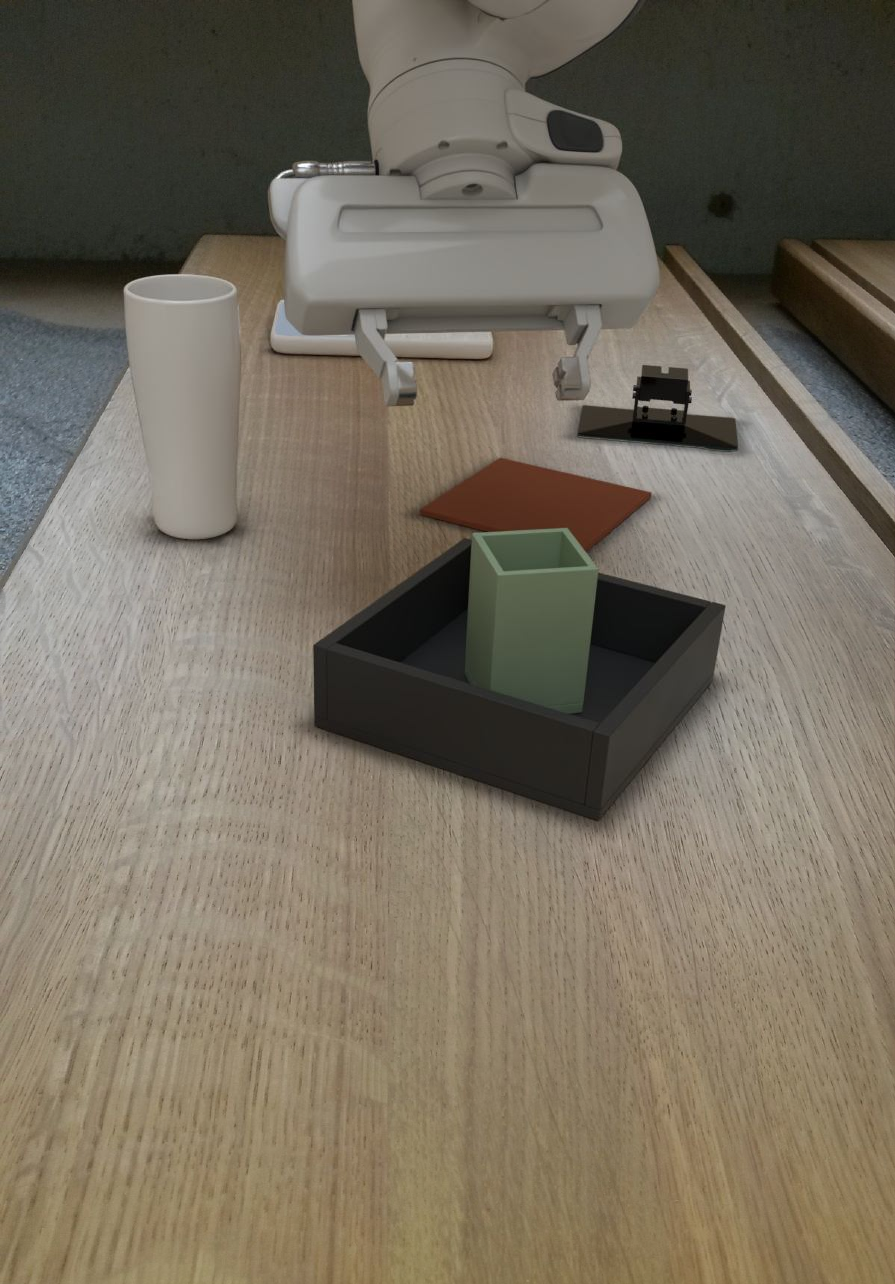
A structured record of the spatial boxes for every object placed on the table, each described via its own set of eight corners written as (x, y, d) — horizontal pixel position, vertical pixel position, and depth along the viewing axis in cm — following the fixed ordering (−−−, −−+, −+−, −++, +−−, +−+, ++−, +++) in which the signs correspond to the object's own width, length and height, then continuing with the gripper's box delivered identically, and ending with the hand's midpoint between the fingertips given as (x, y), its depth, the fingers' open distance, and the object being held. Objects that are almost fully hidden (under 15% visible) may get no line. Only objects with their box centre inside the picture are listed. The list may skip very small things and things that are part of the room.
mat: (651, 497, 96) (651, 492, 95) (581, 556, 87) (582, 550, 87) (499, 462, 100) (500, 457, 100) (419, 514, 91) (419, 509, 91)
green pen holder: (554, 666, 73) (567, 527, 69) (582, 713, 69) (599, 568, 65) (464, 673, 72) (471, 532, 68) (487, 721, 68) (497, 575, 64)
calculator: (494, 361, 121) (495, 339, 120) (269, 354, 120) (268, 333, 119) (484, 321, 132) (485, 300, 131) (278, 314, 131) (277, 294, 130)
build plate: (734, 423, 110) (744, 366, 108) (737, 454, 104) (748, 394, 102) (582, 408, 111) (588, 351, 109) (576, 438, 105) (583, 378, 103)
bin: (713, 681, 74) (726, 604, 71) (598, 821, 62) (609, 735, 60) (460, 610, 80) (464, 537, 77) (314, 726, 68) (312, 644, 66)
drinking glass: (177, 556, 84) (158, 308, 76) (124, 521, 88) (100, 282, 80) (269, 532, 88) (260, 292, 80) (213, 499, 92) (200, 268, 84)
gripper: (267, 122, 69) (297, 374, 66) (647, 127, 73) (689, 364, 71) (260, 199, 75) (287, 433, 72) (611, 199, 79) (648, 419, 77)
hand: (489, 398), depth 71 cm, fingers open, 8 cm apart
